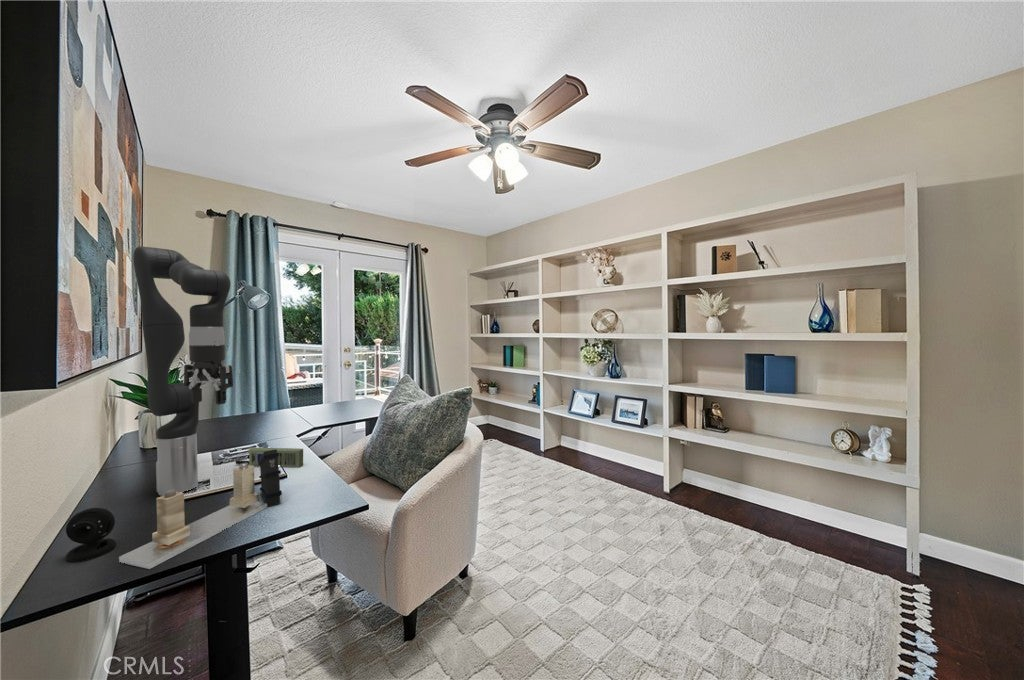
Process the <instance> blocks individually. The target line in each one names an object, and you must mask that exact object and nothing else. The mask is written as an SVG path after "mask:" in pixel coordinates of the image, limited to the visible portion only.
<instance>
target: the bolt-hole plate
mask: <svg viewBox="0 0 1024 680" xmlns="http://www.w3.org/2000/svg"><path fill="white" fill-rule="evenodd" d="M238 465H239V466H238V467H237V468H233V469H232V476H233V477H232V479H233V497H230V498H229V505H227V506H225V507H223V508H220V509H218V510H216V511H214V512H212V513H210V514H208V515H205V516H203V517H201V518H199V519H198V520H195V521H192V522H190V523H188V524H185V526H190V535H189V536H187V537H185V538H183V539H180V540H178V541H176V542H174V543H172V544H170V545H165V544H160V543H155V542H152V541H150V542H148V543H146V544H143V545H141V546H140V547H137V548H135V549H133V550H131V551H129V552H126V553H124V554H122V555H120V556H118V562H119V563H120V562H121V564H124V563H125V564H126V565H130V566H133V567H134V566H135V567H138V568H142V569H147V570H151V569H152V568H154V567H156V566H158V565H160V564H163V563H164V562H166V561H168V560H169V559H171V558H173V557H175V556H178V555H179V554H181V553H183V552H184V551H187V550H188V549H191V548H192V547H194V546H197V545H198V544H200V543H202V542H204V541H206V540H208V539H210V538H211V537H213V536H215V535H217V534H219V533H221V532H223V531H225V530H227V529H229V528H231V527H233V526H234V524H235V525H236V523H237V524H238V523H240V522H242V521H245V520H246V519H248V518H250V517H252V516H253V515H256V514H257V513H260V512H262V511H263V510H265V509H266V508H268V505H267V503H266V502H263V501H260V495H259V493H255V491H256V490H255V466H251V465H249V464H248V463H242V464H238ZM232 525H233V526H232ZM226 528H227V529H226ZM224 529H225V530H224ZM222 530H223V531H222Z"/></svg>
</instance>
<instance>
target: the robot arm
mask: <svg viewBox="0 0 1024 680" xmlns="http://www.w3.org/2000/svg"><path fill="white" fill-rule="evenodd" d="M132 255H133V256H132V257H133V261H132V262H133V267H134V268H133V269H134V273H135V279H136V284H137V288H138V293H139V299H140V308H141V323H142V334H143V342H144V348H145V357H146V365H147V366H146V367H147V380H146V381H147V389H146V390H147V395H146V396H147V404H148V405H147V406H148V409H149V411H150V413H151V414H152V415H154V416H155V417H164V416H170V415H175V416H174V417H173V418H172V419H171V420H170V421H169V422H166V423H165V424H163V425H161V426H159V428H157V430H156V448H157V449H156V455H157V461H156V462H155V470H156V471H155V473H156V474H155V475H156V493H158V494H157V495H159V496H160V497H161V496H164V492H166V491H168V490H176V492H184V491H187V490H190V489H193V488H195V487H197V488H198V486H199V479H198V478H199V477H198V475H199V470H198V438H197V437H198V436H197V435H198V433H197V432H198V430H197V429H198V426H199V416H200V415H199V414H200V413H199V411H200V403H201V402H202V401H203V393H202V392H203V388H202V386H203V385H204V383H205V382H209V384H210V385H212V386H213V387H214V389H215V392H214V393H215V404H216V405H224V404H226V402H227V390H228V389H230V388H233V387H234V379H233V366H232V365H223V363H222V362H223V361H225V359H226V340H225V339H226V338H225V337H226V335H225V330H224V310H225V306H226V301H227V298H228V295H229V292H230V290H231V280H230V277H229V275H228V274H227V273H225V272H223V271H221V270H215V269H214V270H212V269H205V268H204V267H201V266H199V265H198V264H195V263H192V262H190V261H189V259H187V258H186V257H185V256H184V255H183V254H182V253H180V252H178V251H176V250H173V249H167V248H159V247H150V246H137V247H136V248H135V249H134V251H133V254H132ZM155 279H160V280H161V279H163V280H164V279H165V280H172V281H173V282H174V283H176V285H179V286H180V289H181V290H182V292H183V293H185V294H189V295H191V296H202V297H203V296H205V297H210V300H209V301H208V302H207V303H200V304H194V305H191V306H190V308H189V333H188V343H189V344H188V348H189V349H188V350H189V351H188V354H189V361H190V362H192V364H189V363H188V364H185V365H183V366H184V367H183V369H184V372H183V382H178V383H170V384H169V374H170V368H171V366H172V364H173V362H174V361H175V359H176V357H177V356H178V354H179V353H180V351H181V349H182V347H183V346H184V344H185V340H186V339H185V330H184V329H185V327H184V321H183V318H182V317H181V315H180V314H179V313H178V311H176V309H175V308H174V307H173V306H172V304H170V303H169V302H168V301H167V300H166V299H165V298H164V297H163V295H162V294H161V292H160V291H159V289H158V288H157V285H156V283H155V282H156V281H155ZM226 381H227V382H226ZM195 489H196V488H195ZM193 490H194V489H193Z"/></svg>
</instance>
